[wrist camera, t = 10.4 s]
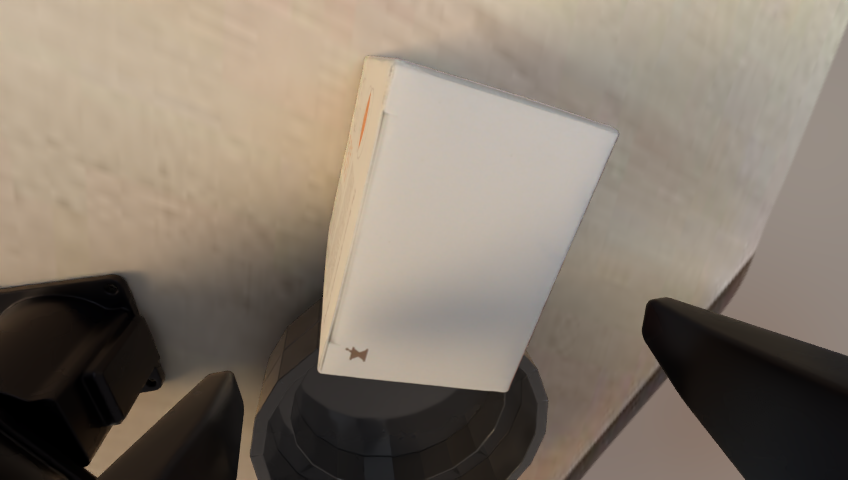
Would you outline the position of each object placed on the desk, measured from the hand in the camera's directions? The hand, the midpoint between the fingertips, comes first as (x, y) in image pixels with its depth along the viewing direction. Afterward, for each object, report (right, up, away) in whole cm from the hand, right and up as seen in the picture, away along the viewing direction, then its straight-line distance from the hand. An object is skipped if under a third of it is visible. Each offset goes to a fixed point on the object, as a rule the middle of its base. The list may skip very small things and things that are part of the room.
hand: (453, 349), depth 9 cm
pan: (-2, -6, +16) cm, 17 cm away
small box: (-2, +6, +11) cm, 12 cm away
